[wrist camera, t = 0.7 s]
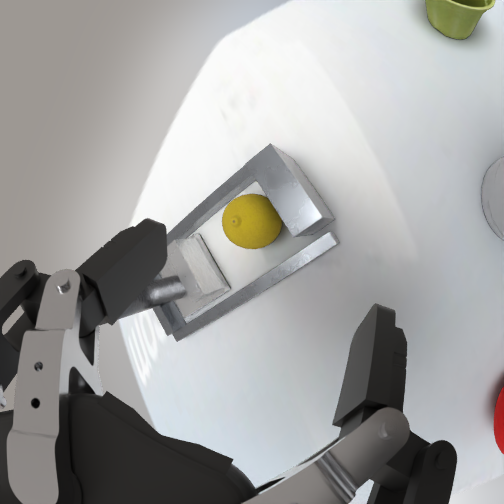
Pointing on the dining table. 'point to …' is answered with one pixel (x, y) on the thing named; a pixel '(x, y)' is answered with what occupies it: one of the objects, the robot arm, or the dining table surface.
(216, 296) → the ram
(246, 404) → the dining table surface
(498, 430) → the tomato
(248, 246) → the lemon
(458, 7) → the plant pot
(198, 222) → the frame
